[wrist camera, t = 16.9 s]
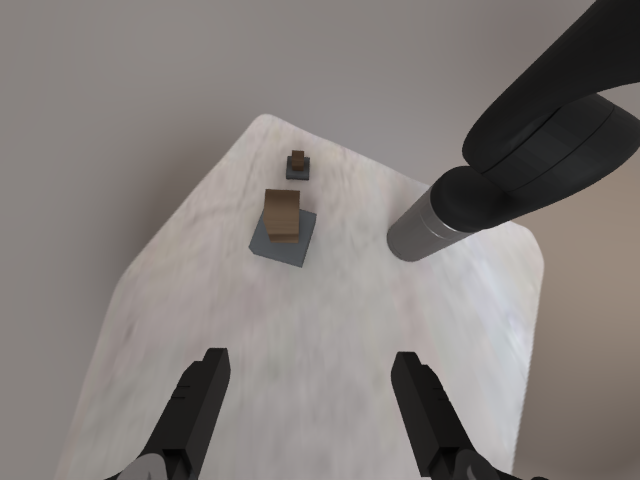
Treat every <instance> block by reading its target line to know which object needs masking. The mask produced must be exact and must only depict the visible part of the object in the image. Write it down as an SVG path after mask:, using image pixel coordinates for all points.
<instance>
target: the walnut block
mask: <svg viewBox="0 0 640 480" xmlns="http://www.w3.org/2000/svg"><path fill="white" fill-rule="evenodd" d="M299 199H300V191H294V190H272V189H266V192H265V204H264V215H263V221H264V224H265V227H266V230H267V233H268V236H269V239H270V241H271V243H298V241H299Z"/></svg>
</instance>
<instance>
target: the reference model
mask: <svg viewBox="0 0 640 480" xmlns="http://www.w3.org/2000/svg"><path fill="white" fill-rule="evenodd" d="M309 163H310V158H308V157H304V151H295V150H292V156H288V158H287V170H286V178H287V179H297V180H309Z"/></svg>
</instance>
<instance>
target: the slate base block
mask: <svg viewBox="0 0 640 480" xmlns="http://www.w3.org/2000/svg"><path fill="white" fill-rule="evenodd" d="M263 215H264V210H263V212H262V215H261V217H260V220H259V222H258V225H257V227H256V230H255V232H254V235H253V237H252V240H251V242H250V245H249V249H250V250H251V251H252V252H253V254H256V255H259V256H263V257H266V258H269V259H273V260H276V261H280V262H283V263H287V264H290V265H294V266H297V267H301V268H302V265H303V262H304V259H305V256H306V252H307V249H308V246H309V242H310V239H311V236H312V233H313V229H314V226H315V222H316V215H317V214H315V213H311V212H308V211H304V210H301V209H299V241H298V243H271V241H270V239H269V236H268V233H267V230H266V227H265V224H264V221H263Z"/></svg>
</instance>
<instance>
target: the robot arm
mask: <svg viewBox="0 0 640 480" xmlns="http://www.w3.org/2000/svg"><path fill="white" fill-rule="evenodd" d="M637 82H640V0H596V2H594V3H593V4H592V5H591V6H590V8H589V9H588V10H587V11H586V12H585V13H584V14H583V15H582V16H581V17H580V18H579V19H578V20H577V21H576V22H575V23H574V24H572V25H571V26H570V27H569V29H567V30H566V31H565V32H564V33H563V35H561V36H560V37H559V38H558V39H557V40H556V41H555V42H554V43H553V44H552V45H551V46H550V47H549V48H548V49H547V50H546V51H545V52H544V53H543V54H542V55H541V56H540V57H539V58H538V59H537V60H536V61H535V62H534V63H533V64H532V65H531V66H530V67H529V68H528V69H527V70H526V71H525V72H524V73H523V74H522V75H520V76H519V77H518V79H516V80H515V81H514V82H513V83H512V84H511V85H510V86H509V87H508V88H507V89H506V90H505V91H504V92H503V93H502V94H501V95H500V96H499V97H498V98H497V99H496V100H495V101H494V102H493V103H492V104H491V106H489V108H488V109H487V110H486V111H485V112H484V113H483V114H482V115H481V117H480V118H479V119H478V120H477V122H476V123H475V124H474V125H473V127H472V128H471V130H470V131H469V133H468V135H467V137H466V139H465V141H464V144H463V147H462V154H463V157H464V159H465V160H466V162H467V163H468V164H469V165H470V166H459V167H455V168H453V169H451V170H449V171H447V172H446V173H444V174H443V175H442V176H441V177H440V178H439V179H438V180H437V181H436V182H435V183H434V184H433V185H432V186H431V187H430V188H429V189H428V190H427V191H426V192H425V193H424V194H423V195H422V196H421V197H420V198H419V199H418V200H417V201H416V202H415V203H414V204H413V205H412V206H411V207H410V208H409V209H408V210H407V211H406V212H405V213H404V214H403V215H402V216H401V217H400V218H399V219H398V220H397V221H396V222H395V223H394V224H393V225H392V226H391V228H390V229H389V231H388V234H387V243H388V246H389V248H390V250H391V251H392V253H393V254H394V255H395V256H396V257H398V258H400V259H401V260H404V261H409V262H414V261H418V260H420V259H422V258H424V257H427V256H429V255H431V254H433V253H435V252H437V251H439V250H441V249H443V248H445V247H448V246H450V245H452V244H454V243H456V242H458V241H460V240H462V239H464V238H466V237H468V236H470V235H472V234H474V233H476V232H478V231H481V230H483V229H489V228H493V227H495V226H498V225H500V224H502V223H505V222H507V221H510V220H512V219H514V218H517V217H519V216H522V215H524V214H527V213H530V212H533V211H535V210H538V209H540V208H543V207H545V206H548V205H550V204H553V203H555V202H557V201H560V200H562V199H564V198H567V197H569V196H571V195H573V194H575V193H577V192H579V191H581V190H583V189H585V188H587V187H589V186H590V185H592V184H594V183H596V182H597V181H599V180H601V179H602V178H603V177H605V176H607V175H608V174H610V173H611V172H613V171H614V170H616V169H617V168H618V167H619V166H621V165H622V164H623V163H624V162H625V161H626V160H628V158H630V157H631V156H632V155H633V154H634V153H635V152H636V151H637V149H638V148H639V147H640V120H638V119H637V118H636V117H635V116H633V115H632V114H630V113H628V112H627V111H625V110H624V109H622V108H620V107H618V106H617V105H615V104H613V103H612V102H610V101H608V100H607V99H605V98H603V97H602V96H600V95H598V94H597V92H600V91H603V90H607V89H611V88H614V87H618V86H622V85H627V84H632V83H637ZM230 372H231V369H230V362H229V356H228V350H227V348H209V349H208V350H207V352H206V354H205V356H204V358H203V360H202V361H194V362H193V363H192V364H191V365H190V366H189V367H188V368H187V369H186V370H185V371H184V373H183V374H182V376H181V378H180V380H179V382H178V384H177V387H176V389H175V390H174V392H173V394H172V396H171V399H170V400H169V401H168V403H167V405H166V407H165V409H164V411H163V413H162V415H161V417H160V419H159V421H158V423H157V425H156V427H155V428H154V430H153V432H152V434H151V436H150V438H149V440H148V442H147V444H146V446H145V447H144V449H143V450H142V452H141V453H140V455H139V456H138V457H137V458H136V459H135V460H134V461H133V462H132V463H130V464H129V465H128V466H127V467H126V468H125V469H124V470H123V471H121V472H120V473H118V474H116V475H114V476H112V477H110V478H107V479H105V480H198V477H199V474H200V471H201V468H202V465H203V462H204V459H205V455H206V452H207V449H208V446H209V443H210V440H211V437H212V434H213V430H214V427H215V424H216V421H217V418H218V415H219V412H220V409H221V405H222V402H223V399H224V396H225V393H226V390H227V387H228V384H229V379H230ZM391 382H392V386H393V389H394V393H395V396H396V399H397V402H398V405H399V408H400V412H401V415H402V418H403V421H404V424H405V428H406V431H407V434H408V437H409V440H410V443H411V447H412V450H413V453H414V456H415V459H416V462H417V466H418V469H419V472H420V475H421V477H431V479H432V480H522V479H519V478H517V477H514V476H512V475H509V474H507V473H504V472H502V471H499V470H497V469H496V468H494V467H492V465H491V464H490V463H489V462H488V461H487V460H486V459H485V458H484V457H483V456H481V455H480V454H478V452H477V451H476V450H475V448H474V447H473V445H472V443H471V441H470V439H469V438H468V436H467V434H466V432H465V430H464V428H463V426H462V424H461V422H460V420H459V418H458V416H457V414H456V412H455V410H454V408H453V406H452V404H451V402H450V401H449V398H448V396H447V394H446V392H445V391H444V390H443V386H442V384H441V382H440V380H439V379H438V377H437V375H436V374H435V373H434V372H433V371H432V369H431V368H430V367H429V366H428V365H422V364H421V362H420V360H419V358H418V356H417V354H416V353H415V352H397V355H396V358H395V361H394V364H393V367H392V370H391ZM531 480H548V479H546V478H543V477H534V478H532V479H531Z"/></svg>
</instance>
